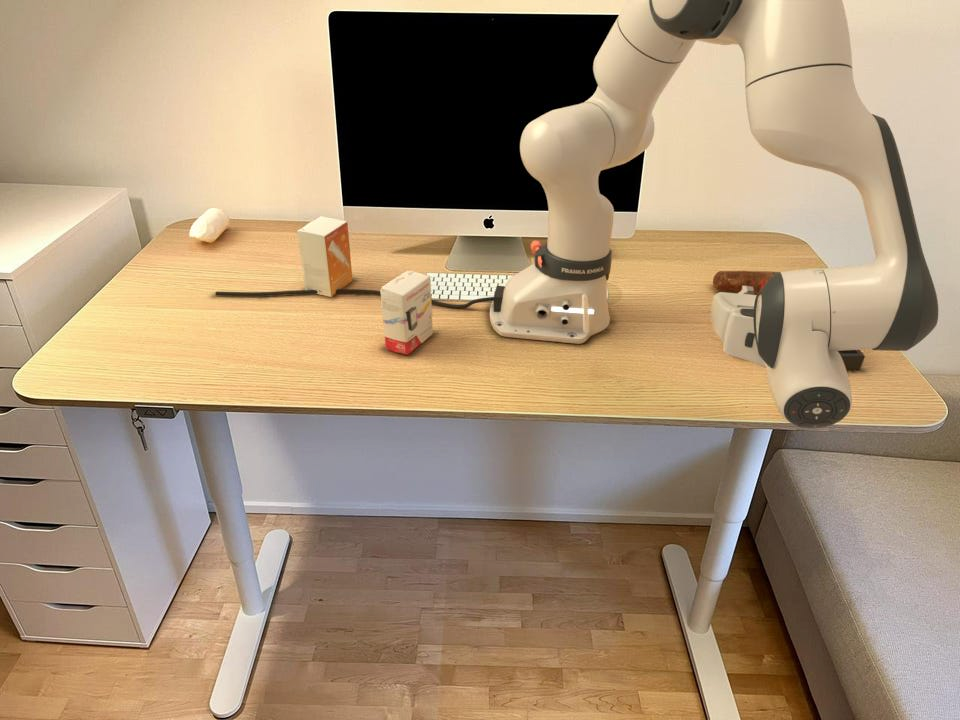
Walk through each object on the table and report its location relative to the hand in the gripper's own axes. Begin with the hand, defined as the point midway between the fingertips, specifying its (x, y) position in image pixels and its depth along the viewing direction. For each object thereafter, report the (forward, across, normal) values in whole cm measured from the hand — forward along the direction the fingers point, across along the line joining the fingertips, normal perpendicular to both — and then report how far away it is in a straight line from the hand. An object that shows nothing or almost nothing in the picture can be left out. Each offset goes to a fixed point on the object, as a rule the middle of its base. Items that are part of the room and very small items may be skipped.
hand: (779, 293), depth 105 cm
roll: (+33, +114, +15) cm, 120 cm away
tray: (+17, -10, +18) cm, 26 cm away
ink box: (+2, +59, +17) cm, 61 cm away
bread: (+34, -5, +17) cm, 38 cm away
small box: (+18, +80, +16) cm, 84 cm away
